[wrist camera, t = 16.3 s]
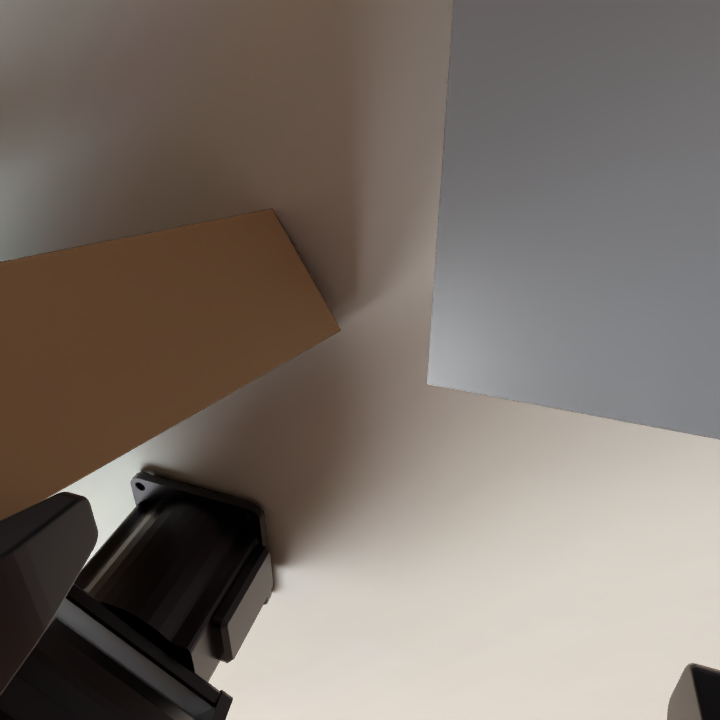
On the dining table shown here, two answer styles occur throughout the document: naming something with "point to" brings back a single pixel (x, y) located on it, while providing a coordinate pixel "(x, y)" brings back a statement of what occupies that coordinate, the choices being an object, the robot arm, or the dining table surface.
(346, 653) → the dining table surface
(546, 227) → the grey block
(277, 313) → the photo frame
